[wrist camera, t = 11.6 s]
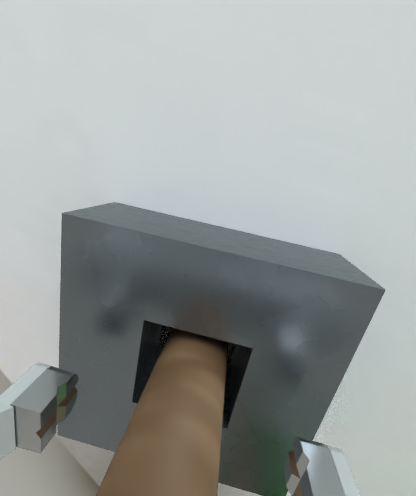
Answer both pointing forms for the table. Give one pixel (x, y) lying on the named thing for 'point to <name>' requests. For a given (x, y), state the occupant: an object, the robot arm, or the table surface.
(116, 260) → the socket
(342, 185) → the table surface
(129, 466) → the round peg
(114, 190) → the table surface
